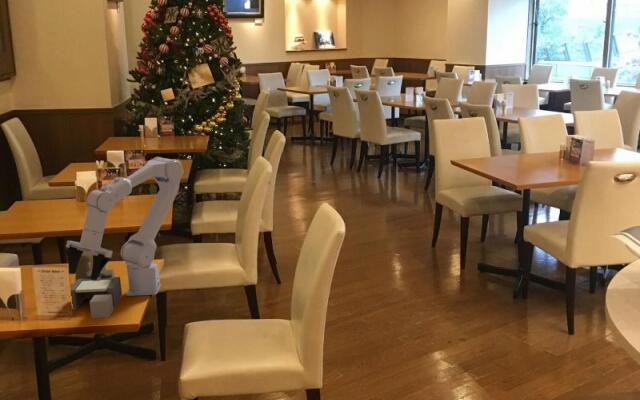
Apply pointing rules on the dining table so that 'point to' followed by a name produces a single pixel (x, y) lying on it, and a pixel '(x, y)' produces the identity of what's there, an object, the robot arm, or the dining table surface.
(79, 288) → the trapdoor flap
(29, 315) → the dining table surface
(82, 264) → the olive green cylinder
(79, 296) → the trapdoor frame
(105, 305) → the grey cube
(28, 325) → the dining table surface
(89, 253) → the candle
